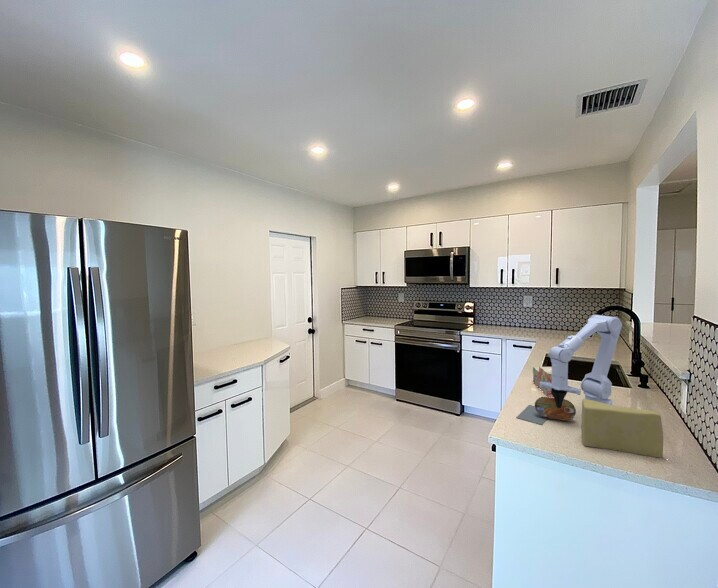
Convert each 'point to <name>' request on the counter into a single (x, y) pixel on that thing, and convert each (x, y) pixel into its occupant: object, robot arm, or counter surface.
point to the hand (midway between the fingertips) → (559, 407)
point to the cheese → (622, 428)
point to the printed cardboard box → (543, 378)
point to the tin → (555, 408)
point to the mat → (531, 415)
